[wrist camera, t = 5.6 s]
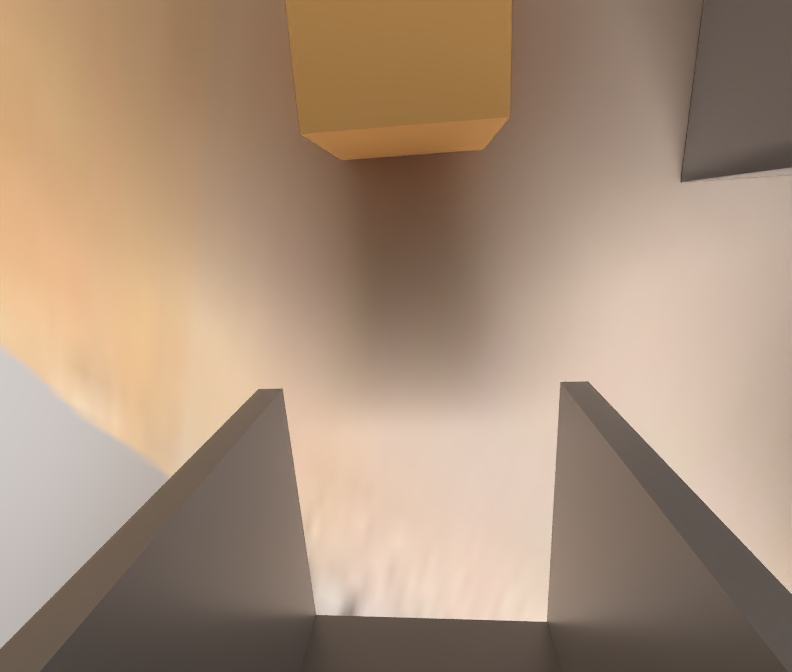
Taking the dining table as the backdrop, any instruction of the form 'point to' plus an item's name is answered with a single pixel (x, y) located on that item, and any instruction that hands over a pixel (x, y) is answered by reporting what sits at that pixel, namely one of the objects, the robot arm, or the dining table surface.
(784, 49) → the grey cube box
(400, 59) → the orange block
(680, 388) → the dining table surface
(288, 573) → the hiding cup
